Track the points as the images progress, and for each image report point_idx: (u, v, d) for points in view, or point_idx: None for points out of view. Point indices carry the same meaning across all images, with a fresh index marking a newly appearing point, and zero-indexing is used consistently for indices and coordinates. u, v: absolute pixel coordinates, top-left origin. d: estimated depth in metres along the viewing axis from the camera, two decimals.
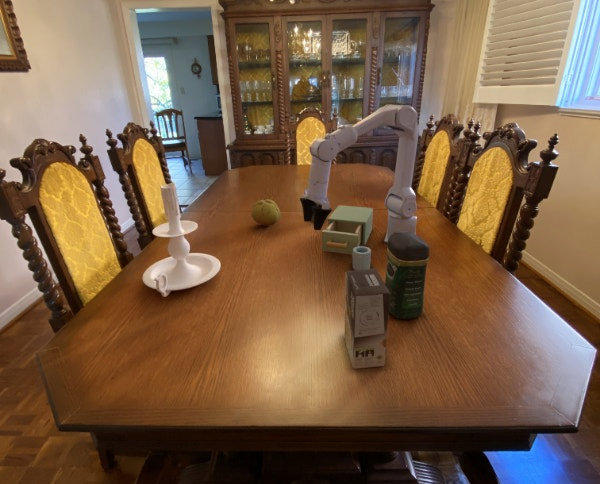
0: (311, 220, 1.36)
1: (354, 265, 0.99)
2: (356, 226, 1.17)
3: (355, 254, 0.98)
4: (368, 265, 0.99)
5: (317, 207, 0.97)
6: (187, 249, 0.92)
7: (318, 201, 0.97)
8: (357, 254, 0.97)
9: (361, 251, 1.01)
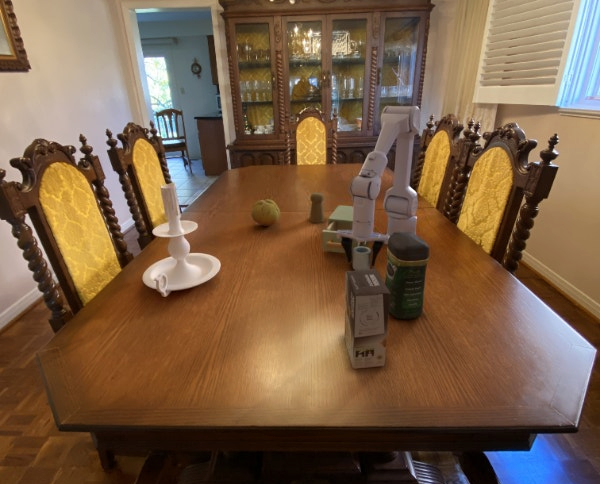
0: (311, 220, 1.36)
1: (354, 265, 0.99)
2: None
3: (355, 254, 0.98)
4: (368, 265, 0.99)
5: (377, 244, 0.95)
6: (187, 249, 0.92)
7: (379, 239, 0.94)
8: (357, 254, 0.97)
9: (361, 251, 1.01)
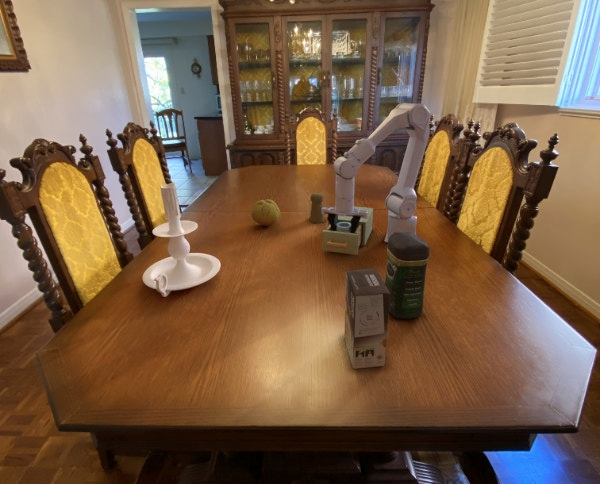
0: (311, 220, 1.36)
1: None
2: None
3: (338, 228, 1.09)
4: None
5: (355, 219, 1.07)
6: (187, 249, 0.92)
7: (358, 213, 1.06)
8: (339, 228, 1.09)
9: (344, 226, 1.13)
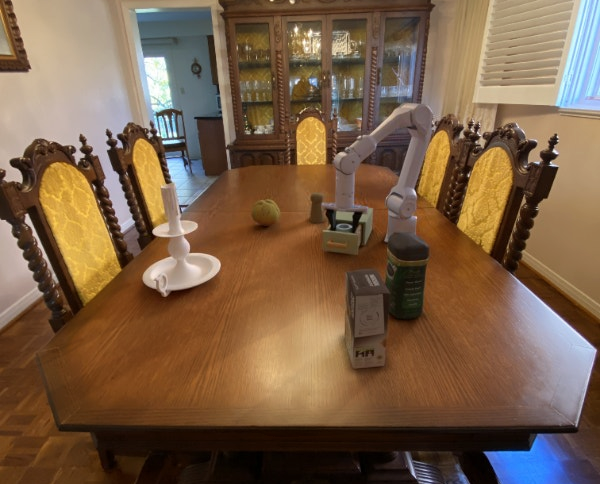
0: (311, 220, 1.36)
1: None
2: None
3: (338, 230, 1.09)
4: None
5: (357, 214, 1.06)
6: (187, 249, 0.92)
7: (358, 209, 1.05)
8: (339, 230, 1.09)
9: (343, 228, 1.13)
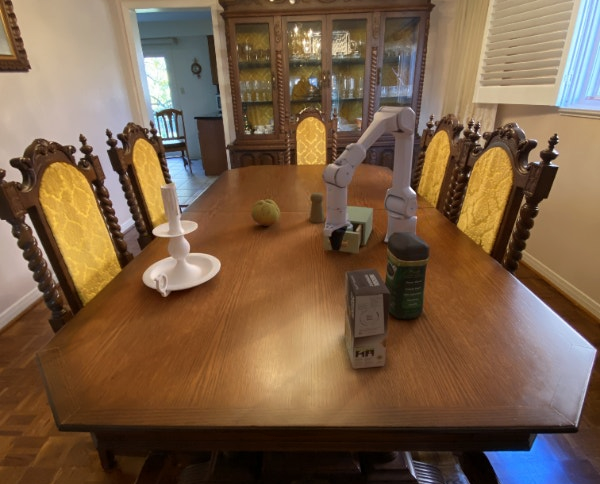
0: (311, 220, 1.36)
1: None
2: (357, 225, 1.18)
3: None
4: None
5: (343, 226, 1.01)
6: (187, 249, 0.92)
7: (346, 217, 1.03)
8: None
9: None
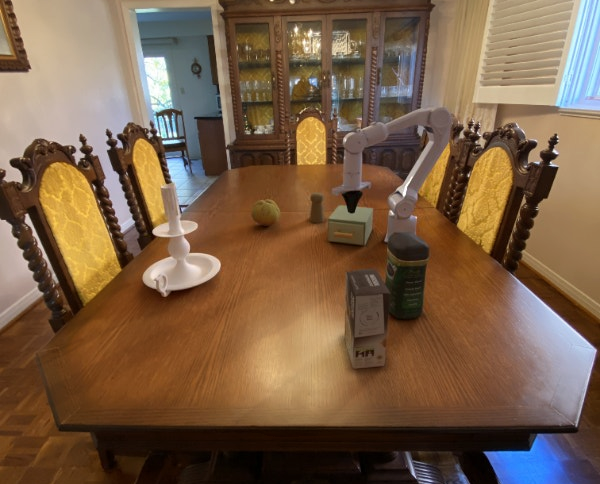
0: (311, 220, 1.36)
1: None
2: None
3: None
4: None
5: (358, 192, 1.11)
6: (187, 249, 0.92)
7: (366, 185, 1.12)
8: None
9: None
